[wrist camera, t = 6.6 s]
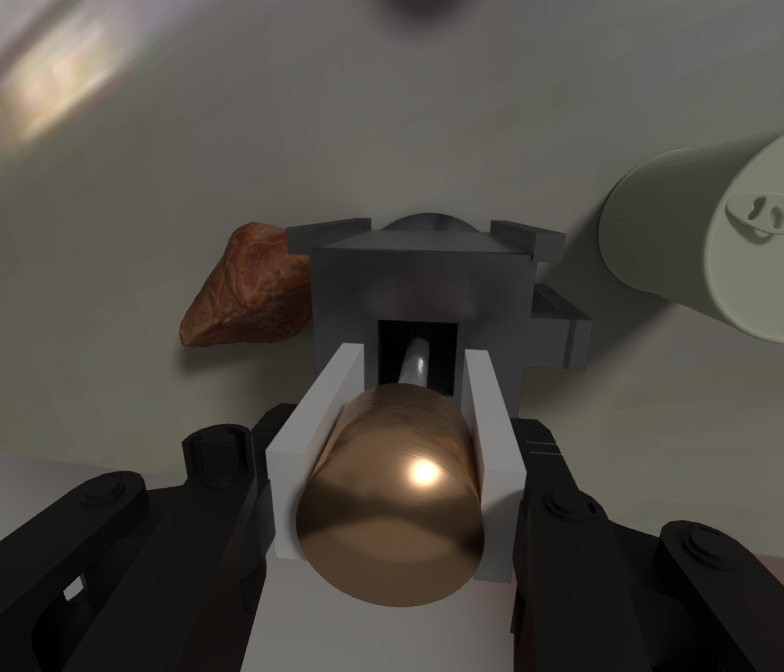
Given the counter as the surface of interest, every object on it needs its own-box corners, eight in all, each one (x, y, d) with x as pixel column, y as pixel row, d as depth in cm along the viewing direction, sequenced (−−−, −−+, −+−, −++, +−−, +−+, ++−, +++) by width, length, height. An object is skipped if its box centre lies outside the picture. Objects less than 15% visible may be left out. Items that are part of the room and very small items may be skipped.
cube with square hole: (356, 354, 32) (293, 464, 18) (354, 211, 29) (274, 216, 15) (524, 363, 31) (591, 490, 17) (543, 214, 27) (647, 223, 14)
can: (640, 128, 25) (805, 64, 14) (779, 176, 25) (1061, 150, 14) (573, 267, 28) (663, 309, 17) (697, 310, 28) (872, 380, 17)
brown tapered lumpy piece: (363, 210, 25) (264, 311, 19) (387, 309, 31) (316, 410, 25) (223, 200, 31) (112, 276, 25) (265, 286, 36) (184, 364, 30)
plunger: (376, 343, 28) (236, 640, 9) (376, 246, 26) (193, 359, 7) (473, 348, 27) (549, 683, 8) (481, 249, 25) (609, 384, 6)
